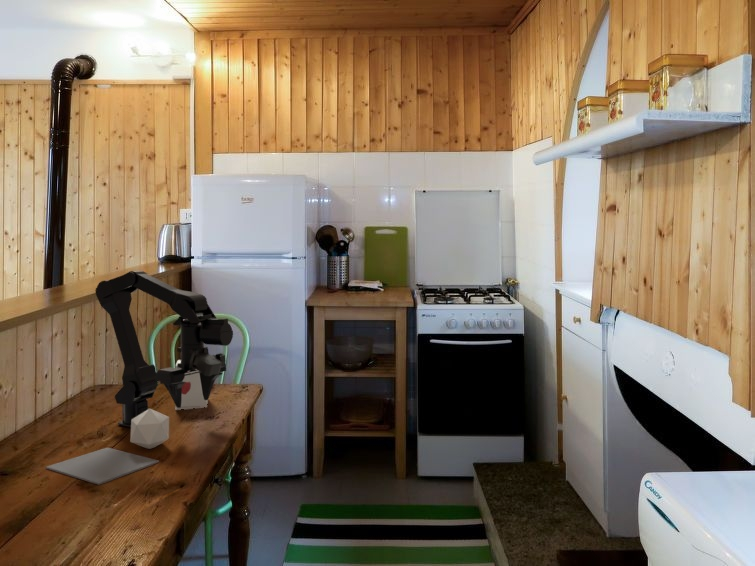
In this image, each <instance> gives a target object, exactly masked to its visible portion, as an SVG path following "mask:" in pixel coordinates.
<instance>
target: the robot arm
mask: <svg viewBox="0 0 755 566" xmlns="http://www.w3.org/2000/svg"><path fill="white" fill-rule="evenodd" d="M138 290H139V291H141V292H143V293H145V294H148V295H149V296H151V297H154V298H156V299H157V300H160V301H161V302H163V303H165V304H167V305H168V306H169V307H170V309H171V311H173V312H174V313H175V314H177V315H178V318H177V319H176V320H175V321H174V322H172V325H173V326H176V327H178V326H180V347H179V346H178V347H177V348H176V349H177V350H176V351H177V352H179V353H180V360H181V363H178V364H177V367H178V368H181V369H177V368H175V367H165V368H161V369H158V370H157V369H156V366H155V364H154V363H153V364H148V363H147V362H146V360H145V359H144V356H143V351H142V348H141V345H140V342H139V339H138V335H137V332H136V328H135V324H134V321H133V319H132V315H131V311H130V308H131V304H132V298H133V297H132V293H134V292H136V291H138ZM94 291H95V292H94V293H95V296H96V298H97V301H98V302H99V304H100V306H101V308H102V309H103V310H104V311H105V312H106V313H107V314H108V315H109V317H110V320H111V323H112V327H113V330H114V331H113V332H114V334H115V338H116V342H117V343H118V347H119V351H120V355H121V359H122V361H123V365H124V368H123V372H122V376H121V379H122V380H121V381H122V387H121V388H120V389H119V390H118V392H117V393H116V394H114V400H115V402H116V404H119V405H122V406H121V407H122V420H121V421H118V422H117V425H119V426H124V427H129V428H131V420H132V419H133V418H135V417H137V416H138V415H140V414H141V413H143V412H145V411H146V410H148V409H149V406H148V405H149V400H148V399H152V398H153V397H154V394H155V391H156V389H157V387H158V385H159V383H160V384H162V385H164V387H165V389H167V391H168V393H169V395H170V396H171V399H172V401H173V403H174V406H175V405H176V407H177V408H181V401H182V387H183V385H184V384H185V382H182V381H183V379H184V378H185V376H187V375H191V374H195V373H199V374H200V380H201V386H202V393H203V397H204V400H208V401H209V398H210V395H211V392H212V389H213V387H214V384H215V382H216V380H217V379H218V378H219V377H220V376H222V375H223V373H224V372H226V371H227V360H226V355H225V354H224V353H222V352H220V353H216V354H209V348H208V346H209V345H210V346H223V347H225V346H226V347H227V346H229V345H230V344H231V343H232V341H233V337H234V331H233V329H232V325H231V324H230V323H229V318H226V317H225V318H223V317H222V318H217V316H216V315H215V313H214V311H213V310H212V309H211V307H210V305H209V304H208V301H207V298H206V295H203V294H201V293H197V292H194V291H188V290H182V289H180V288H179V289H178V288H177V287H174V286H172V284H171V285H170V284H168V283H166V282H165V281H162V280H160V279H158V278H157V277H154V276H153V275H152V276H151V275H150V274H148V273H147V272H145V271H143V270H130V271H128V272H126V273H125V274H122V275H120V276H116V277H114V278H110V279H107V280H101V281H99V282H98V284H97V286H96V288H95V290H94ZM205 345H208V346H205ZM195 369H197V370H195ZM156 370H157V371H156ZM188 371H189V372H188Z"/></svg>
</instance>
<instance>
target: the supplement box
mask: <svg viewBox="0 0 755 566" xmlns="http://www.w3.org/2000/svg"><path fill="white" fill-rule="evenodd" d="M178 363H181V359H178V360H177V361H176V363H175V366H174V368H177V369H181V368H178V367H177V364H178ZM195 370H197V369H195ZM188 372H189V371H188ZM182 382H185V384H184V385H183V387H182V401H181V408H177V407H176V405H175V404H174V409H175V411H182V410H181V409H184V410H194V409H193V408H195V409H203V408H204V407H205V408H208V405H209V399H208V400H204V397H203V393H202V386H201V380H200V374H199V373H195V374H191V375H187V376H185V378H184V379H183V381H182ZM207 404H208V405H207Z"/></svg>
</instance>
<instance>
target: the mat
mask: <svg viewBox="0 0 755 566" xmlns="http://www.w3.org/2000/svg"><path fill="white" fill-rule="evenodd" d="M158 463H160V460H157V459H153V458H150V457H147V456H143V455H139V454H134V453H131V452H126V451H123V450H118V449H115V448H111V447H104V448H101V449H98V450H95V451H92V452H88V453H86V454H82V455H79V456H75V457H71V458H69V459H66V460H63V461H60V462H57V463H53V464H50V465H47V466H45V469H46V470H50V471H53V472H56V473H59V474H62V475H66V476H68V477H72V478H76V479H79V480H82V481H84V482H85V481H86V482H88V483H91V484H94V485H98V486H101V485H103V484H106V483H108V482H111V481H113V480H116V479H118V478H121V477H124V476H127V475H129V474H133V473H135V472H139V471H141V470H143V469H146V468H149V467H151V466H153V465H156V464H158Z"/></svg>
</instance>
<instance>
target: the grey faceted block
mask: <svg viewBox="0 0 755 566" xmlns="http://www.w3.org/2000/svg"><path fill="white" fill-rule="evenodd" d="M169 439H170V416H168V415H165V414H163V413H161V412H159V411H156V410H154V409H152V408H148V410H146V411H145V412H143V413H141V414H140V415H138V416H137V417H135V418H133V419H132V420H131V427H130V441H129V442H130V443H132V444H135V445H137V446H140V447H142V448H145V449H148V450H149V449H154V448H156V447H158V446H160V445H161V444H162V443H164V442H166V441H167V440H169Z"/></svg>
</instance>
